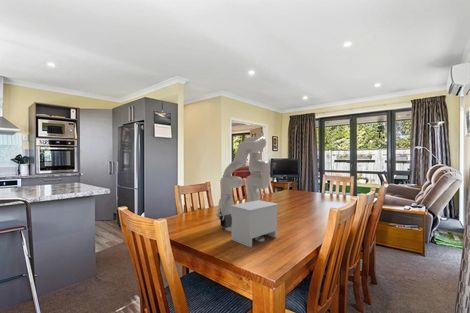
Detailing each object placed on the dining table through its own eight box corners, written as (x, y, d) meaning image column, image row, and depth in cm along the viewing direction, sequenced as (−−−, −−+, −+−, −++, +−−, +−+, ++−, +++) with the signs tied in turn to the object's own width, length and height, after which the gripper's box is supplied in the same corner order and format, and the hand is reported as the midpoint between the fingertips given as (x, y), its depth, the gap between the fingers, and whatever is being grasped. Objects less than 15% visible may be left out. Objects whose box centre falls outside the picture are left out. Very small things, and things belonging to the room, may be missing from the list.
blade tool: (227, 226, 151) (227, 212, 151) (254, 236, 133) (254, 220, 133) (221, 228, 147) (221, 213, 147) (248, 238, 129) (248, 222, 129)
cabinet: (258, 230, 143) (258, 200, 142) (278, 237, 131) (278, 203, 131) (230, 239, 127) (230, 205, 127) (249, 247, 116) (250, 210, 116)
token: (259, 238, 130) (259, 235, 130) (266, 240, 126) (266, 238, 126) (253, 240, 126) (253, 237, 126) (260, 243, 123) (260, 240, 123)
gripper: (232, 194, 156) (232, 221, 156) (212, 197, 144) (211, 226, 144) (240, 195, 150) (240, 223, 150) (219, 199, 139) (219, 229, 139)
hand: (226, 224), depth 147 cm, fingers open, 5 cm apart
